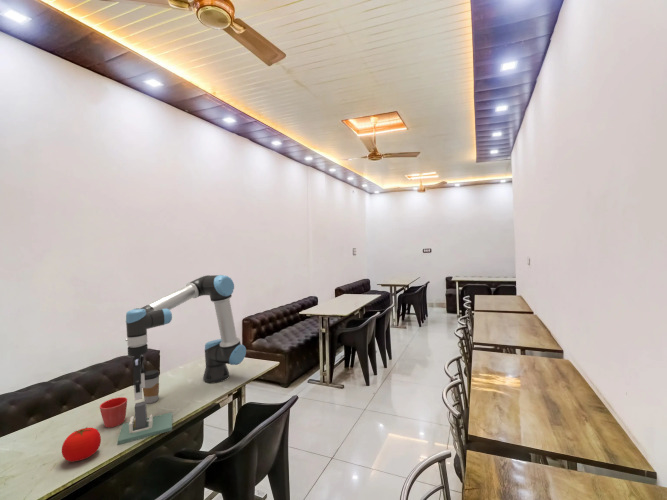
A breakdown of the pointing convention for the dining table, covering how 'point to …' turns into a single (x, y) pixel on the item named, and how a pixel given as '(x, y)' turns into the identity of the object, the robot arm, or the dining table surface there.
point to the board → (153, 428)
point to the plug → (140, 415)
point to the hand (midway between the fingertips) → (140, 393)
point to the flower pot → (114, 411)
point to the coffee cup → (151, 386)
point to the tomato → (81, 444)
